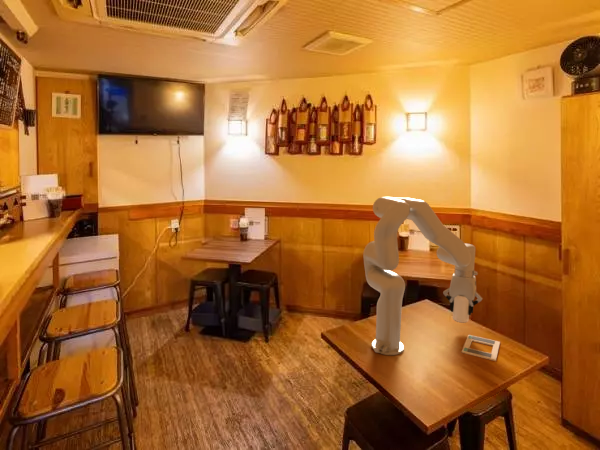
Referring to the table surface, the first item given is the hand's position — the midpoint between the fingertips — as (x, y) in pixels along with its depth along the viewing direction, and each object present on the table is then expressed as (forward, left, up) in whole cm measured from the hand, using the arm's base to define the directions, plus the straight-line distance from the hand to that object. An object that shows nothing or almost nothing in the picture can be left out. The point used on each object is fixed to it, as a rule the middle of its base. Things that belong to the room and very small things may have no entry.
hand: (461, 311), depth 164 cm
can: (0, 0, -4) cm, 4 cm away
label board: (-11, -10, -9) cm, 17 cm away
